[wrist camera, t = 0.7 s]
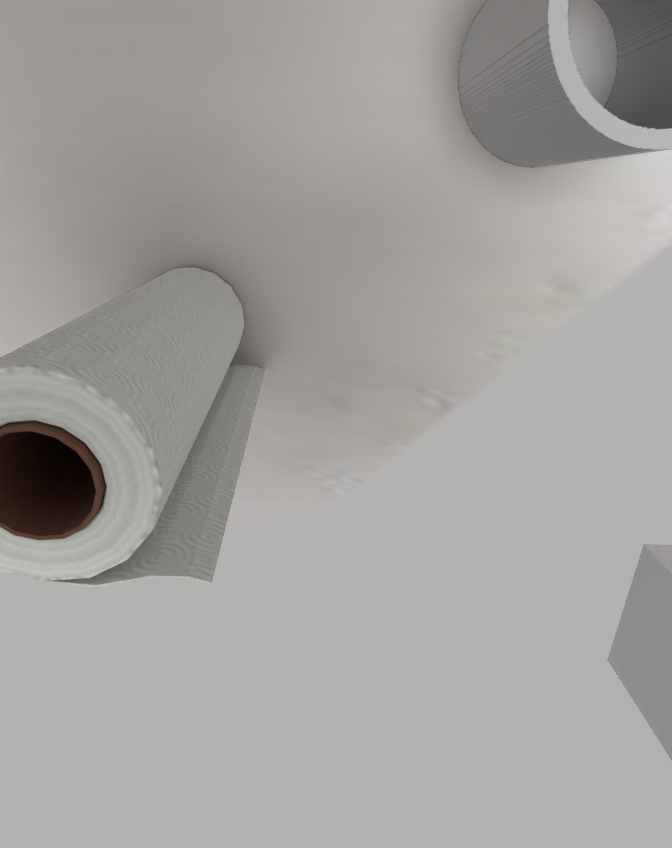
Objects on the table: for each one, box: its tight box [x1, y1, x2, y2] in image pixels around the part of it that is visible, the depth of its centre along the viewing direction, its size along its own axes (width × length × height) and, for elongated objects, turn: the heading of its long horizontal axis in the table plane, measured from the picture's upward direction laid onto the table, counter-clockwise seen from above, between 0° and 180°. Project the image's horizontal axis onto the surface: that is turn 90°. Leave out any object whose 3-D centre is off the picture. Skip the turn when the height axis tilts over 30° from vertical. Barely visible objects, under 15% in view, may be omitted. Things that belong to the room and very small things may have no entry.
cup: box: [458, 0, 672, 168], centre depth 24 cm, size 9×9×12 cm
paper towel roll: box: [0, 267, 265, 587], centre depth 24 cm, size 7×6×21 cm
